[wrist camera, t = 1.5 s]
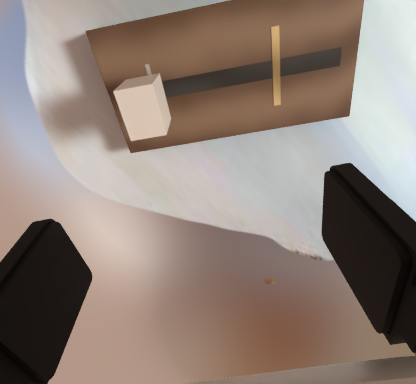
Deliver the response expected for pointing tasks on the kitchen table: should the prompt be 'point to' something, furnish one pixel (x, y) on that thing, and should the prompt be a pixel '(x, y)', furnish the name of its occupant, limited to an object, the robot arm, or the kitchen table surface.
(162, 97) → the block
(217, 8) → the control board
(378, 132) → the kitchen table surface
